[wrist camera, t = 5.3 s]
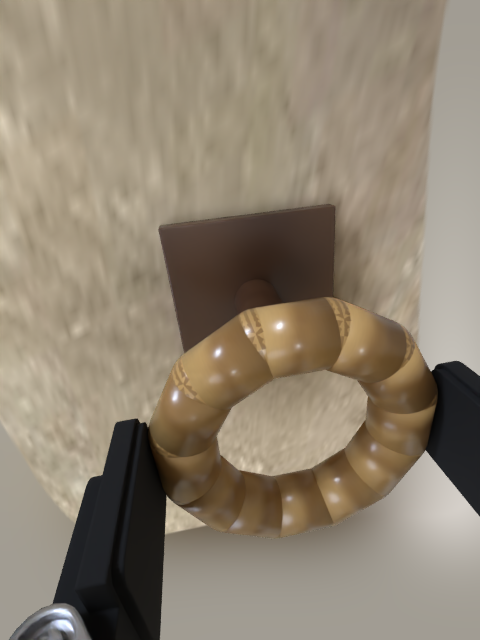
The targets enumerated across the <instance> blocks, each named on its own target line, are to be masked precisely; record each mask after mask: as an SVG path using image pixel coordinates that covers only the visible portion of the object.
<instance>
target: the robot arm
mask: <svg viewBox="0 0 480 640" xmlns="http://www.w3.org/2000/svg"><path fill="white" fill-rule="evenodd" d="M431 373H432V375H433V377H434V379H435V381H436V384H437V388H438V399H437V404H436V408H435V413H434V417H433V422H432V426H431V431H430V435H429V440H428V445H427V447H426V449H425V450H426V451H427V452H428V453H429V455H430V456H431V457H432V458H433V460H434V461H435V462H436V463H437V465H438V466H439V467H440V468H441V469H442V471H443V472H444V473H445V474H446V476H447V477H448V478H449V479H450V480H451V482H452V483H453V484H454V485H455V487H456V488H457V489H458V490H459V491H460V493H461V494H462V495H463V496H464V498H465V499H466V500H467V501H468V503H469V504H470V505H471V506H472V507H473V509H474V510H475V511H476V512H477V513H478V515H479V516H480V376H479V375H477V374H476V373H475V372H474V371H472V370H471V369H470V368H468V367H467V366H466V365H464V364H463V363H461V362H459V361H453V362H448V363H441V364H438V365H436V366H435V369H434V370H432V371H431ZM165 518H166V493H165V491H164V489H163V486H162V483H161V480H160V477H159V473H158V470H157V467H156V464H155V461H154V457H153V454H152V451H151V448H150V444H149V440H148V427H147V424H146V423H145V422H144V423H140V422H139V420H138V419H131V420H126V421H120V422H117V423H116V424H115V427H114V431H113V435H112V439H111V443H110V447H109V451H108V455H107V459H106V463H105V467H104V471H103V475H101V476H96V477H92V478H91V479H90V480H89V481H88V484H87V486H86V489H85V493H84V496H83V500H82V503H81V507H80V510H79V514H78V517H77V521H76V524H75V528H74V531H73V534H72V538H71V541H70V545H69V548H68V552H67V555H66V559H65V563H64V566H63V569H62V574H61V576H60V580H59V583H58V587H57V590H56V594H55V597H54V600H53V604H52V605H49V606H46V607H44V608H41V609H40V610H39V611H37V612H35V613H34V614H32V615H31V616H29V617H28V618H27V619H26V620H25V621H24V622H23V623H22V624H21V625H20V626H19V627H18V628H17V629H16V630H15V632H14V633H13V635H12V636H11V637H10V639H9V640H160V625H161V604H162V582H163V560H164V537H165Z"/></svg>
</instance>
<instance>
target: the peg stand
mask: <svg viewBox="0 0 480 640" xmlns="http://www.w3.org/2000/svg"><path fill="white" fill-rule="evenodd" d="M159 234H160V239H161V244H162V248H163V253H164V258H165V263H166V268H167V272H168V277H169V282H170V287H171V292H172V296H173V301H174V306H175V311H176V315H177V320H178V325H179V330H180V335H181V339H182V344H183V349H184V353H186V352H187V351H188V350H190V349H191V348H193V347H194V346H195V345H197V344H198V343H200V342H201V341H202V340H204V339H205V338H206V337H208V336H209V335H211V334H212V333H213V332H215V331H216V330H218V329H219V328H220V327H222V326H223V325H224V324H226V323H227V322H229V321H230V320H231V319H233V318H234V317H235V316H237V315H238V314H240V313H242V312H243V311H246V310H248V309H252V308H257V307H263V306H269V305H276V304H282V303H289V302H295V301H301V300H308V299H314V298H321V297H333V274H334V240H335V206H333V205H331V204H326V205H318V206H310V207H302V208H295V209H287V210H279V211H271V212H263V213H255V214H247V215H240V216H232V217H224V218H216V219H208V220H200V221H192V222H184V223H177V224H169V225H161V226H160V227H159Z"/></svg>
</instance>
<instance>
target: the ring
mask: <svg viewBox="0 0 480 640" xmlns="http://www.w3.org/2000/svg"><path fill="white" fill-rule="evenodd" d="M321 370H327V371H330V372H334V373H337V374H340V375H343V376H346V377H349V378H353V379H356V380H357V381H358V382H359V384H360V385H361V386H362V388H363V389H364V391H365V392H366V394H367V395H368V401H367V411H366V420H365V421H364V423H363V424H362V425H361V427H360V428H359V430H358V431H357V432H356V434H355V435H354V436H353V438H352V439H351V441H350V442H349V443H348V445H347V446H346V447H345V448H344V449H342V450H341V451H339V452H337V453H336V454H334V455H332V456H331V457H329V458H328V459H326V460H324V461H323V462H321V463H319V464H318V465H316V466H314V467H313V468H311V469H306V470H301V471H296V472H291V473H286V474H282V475H277V476H267V475H262V474H257V473H251V472H246V471H241V470H238V469H236V468H235V467H234V466H233V465H232V464H231V463H229V462H228V461H227V460H226V459H225V458H223V457H222V456H221V455H220V452H219V446H218V441H217V434H218V432H219V431H220V429H221V427H222V425H223V423H224V421H225V419H226V417H227V415H228V414H229V412H230V410H231V408H232V407H233V406H235V405H236V404H237V403H239V402H240V401H242V400H243V399H245V398H246V397H248V396H249V395H251V394H252V393H254V392H255V391H257V390H258V389H260V388H261V387H263V386H264V385H266V384H267V383H269V382H270V381H272V380H273V379H276V378H282V377H287V376H293V375H298V374H304V373H310V372H315V371H321ZM437 399H438V388H437V384H436V381H435V379H434V377H433V375H432V373H431V371H430V369H429V367H428V365H427V364H426V362H425V360H424V358H423V356H422V354H421V352H420V350H419V348H418V346H417V345H416V343H415V341H414V339H413V337H412V336H411V334H410V333H409V331H408V330H407V329H406V328H404V327H403V326H402V325H401V324H399V323H397V322H395V321H393V320H390V319H388V318H385V317H383V316H380V315H378V314H375V313H373V312H370V311H368V310H365V309H363V308H360V307H358V306H355V305H353V304H350V303H348V302H345V301H343V300H341V299H337V298H333V297H321V298H314V299H308V300H301V301H295V302H289V303H282V304H276V305H269V306H263V307H257V308H252V309H248V310H246V311H243V312H242V313H240V314H238V315H237V316H235V317H234V318H233V319H231V320H230V321H229V322H227V323H226V324H224V325H223V326H222V327H220V328H219V329H218V330H216V331H215V332H213V333H212V334H211V335H209V336H208V337H206V338H205V339H204V340H202V341H201V342H200V343H198V344H197V345H195V346H194V347H193V348H191V349H190V350H188V351H187V352H186V353H184V354H183V355H182V356H181V357H180V358H179V359H178V360H177V361H176V363H175V364H174V366H173V368H172V370H171V373H170V375H169V378H168V380H167V382H166V385H165V387H164V389H163V392H162V394H161V396H160V399H159V401H158V404H157V406H156V408H155V411H154V413H153V415H152V418H151V420H150V423H149V427H148V440H149V444H150V448H151V451H152V454H153V457H154V461H155V464H156V467H157V470H158V473H159V477H160V480H161V483H162V486H163V489H164V491H165V493H166V495H167V496H168V498H169V499H170V500H172V501H173V502H174V503H175V504H177V505H178V506H180V507H181V508H183V509H184V510H185V511H187V512H188V513H190V514H191V515H193V516H194V517H196V518H197V519H199V520H200V521H202V522H203V523H205V524H206V525H208V526H209V527H211V528H212V529H214V530H216V531H219V532H225V533H232V534H240V535H249V536H257V537H265V538H283V537H287V536H291V535H296V534H300V533H305V532H310V531H314V530H319V529H323V528H327V527H332V526H334V525H337V524H339V523H341V522H342V521H344V520H346V519H348V518H350V517H351V516H353V515H355V514H356V513H358V512H360V511H361V510H363V509H365V508H367V507H369V506H370V505H372V504H374V503H375V502H377V501H379V500H381V499H382V498H384V497H386V496H387V495H388V494H389V493H390V492H391V491H392V490H393V488H394V487H395V486H396V485H397V484H398V482H399V481H400V480H401V479H402V478H403V477H404V475H405V474H406V473H407V472H408V471H409V470H410V468H411V467H412V466H413V465H414V464H415V462H416V461H417V460H418V459H419V458H420V457H421V455H422V454H423V453H424V451H425V449H426V447H427V445H428V440H429V435H430V431H431V426H432V422H433V417H434V413H435V408H436V404H437Z"/></svg>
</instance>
